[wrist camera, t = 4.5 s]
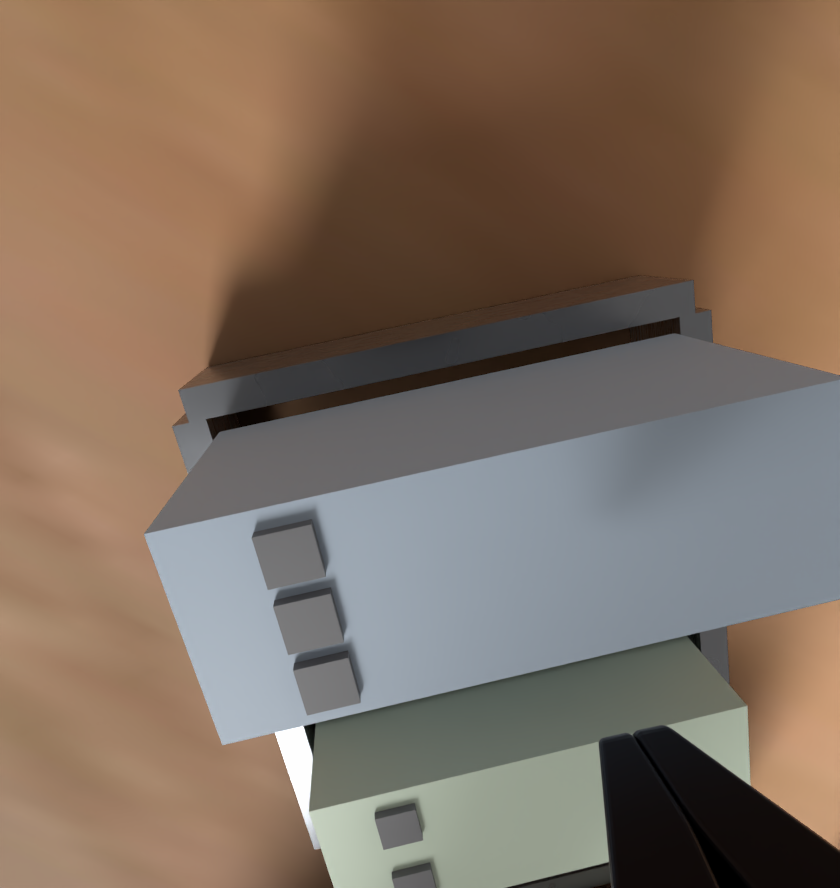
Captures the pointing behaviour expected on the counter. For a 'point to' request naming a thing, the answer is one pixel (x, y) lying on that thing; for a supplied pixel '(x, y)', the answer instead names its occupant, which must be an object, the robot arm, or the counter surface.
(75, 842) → the counter surface
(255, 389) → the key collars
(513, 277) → the counter surface
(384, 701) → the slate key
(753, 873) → the robot arm
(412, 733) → the sage key
